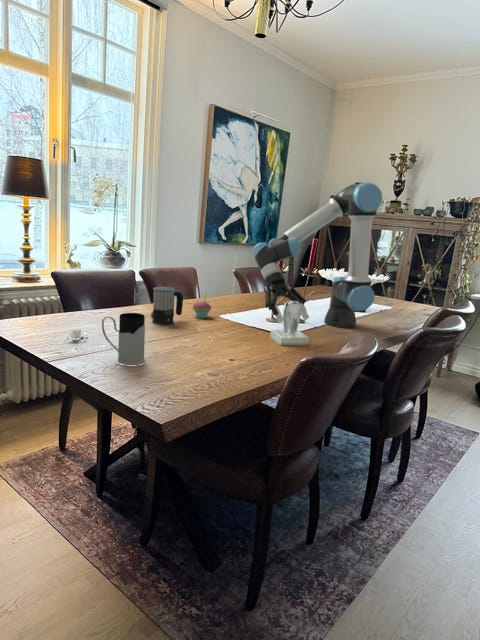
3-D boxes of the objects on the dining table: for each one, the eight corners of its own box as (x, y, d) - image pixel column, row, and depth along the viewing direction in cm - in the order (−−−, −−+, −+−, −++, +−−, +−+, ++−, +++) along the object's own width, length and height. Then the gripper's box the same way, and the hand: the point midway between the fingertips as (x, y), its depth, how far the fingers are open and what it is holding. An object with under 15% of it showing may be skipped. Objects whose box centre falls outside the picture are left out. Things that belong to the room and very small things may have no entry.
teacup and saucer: (84, 336, 160) (84, 325, 159) (94, 341, 154) (94, 330, 153) (60, 339, 154) (60, 328, 153) (70, 345, 148) (69, 334, 147)
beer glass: (297, 342, 170) (301, 305, 166) (279, 340, 171) (283, 302, 168) (298, 337, 177) (302, 301, 173) (281, 335, 178) (285, 299, 174)
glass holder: (138, 368, 131) (140, 320, 128) (95, 362, 134) (95, 314, 130) (149, 359, 140) (151, 314, 136) (108, 353, 142) (108, 309, 138)
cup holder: (296, 336, 181) (297, 329, 180) (308, 345, 170) (309, 337, 170) (270, 336, 178) (271, 329, 177) (280, 345, 167) (281, 337, 166)
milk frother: (163, 326, 181) (164, 291, 177) (136, 319, 189) (136, 285, 185) (185, 320, 193) (186, 288, 189) (158, 314, 200) (159, 282, 197)
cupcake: (214, 317, 204) (215, 292, 201) (203, 320, 196) (204, 294, 194) (199, 313, 208) (201, 289, 205) (188, 316, 201) (189, 291, 198)
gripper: (290, 280, 189) (311, 322, 181) (244, 282, 174) (265, 328, 166) (300, 270, 183) (322, 313, 175) (254, 271, 168) (275, 317, 160)
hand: (294, 320), depth 171 cm, fingers open, 13 cm apart
